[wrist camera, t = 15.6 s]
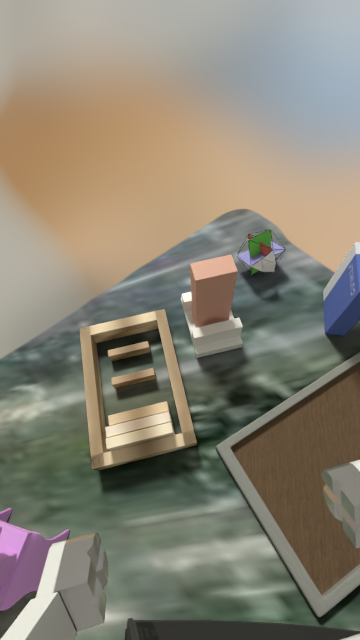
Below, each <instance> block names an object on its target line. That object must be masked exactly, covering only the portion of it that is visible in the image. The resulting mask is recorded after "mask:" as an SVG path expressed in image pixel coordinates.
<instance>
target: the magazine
mask: <svg viewBox="0 0 360 640" xmlns="http://www.w3.org/2000/svg"><path fill="white" fill-rule="evenodd" d="M357 634H360V631H353V630H344V629H335V628H327V627H317V626H306V625H294V624H281V623H263V622H243V621H207V620H133V618H131V619H128V622H127V629H126V630H125V640H341V639H344V638H347V637H350V636H354V635H357Z"/></svg>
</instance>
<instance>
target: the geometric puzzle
mask: <svg viewBox="0 0 360 640" xmlns="http://www.w3.org/2000/svg"><path fill="white" fill-rule="evenodd" d="M260 232H261V231H260ZM256 233H257V232H256ZM251 234H252V233H251ZM274 235H275V234H274ZM252 236H253V235H252ZM252 236H250V235H249V234H248V243H249V250H248V251H246V252H244V253H242V254H240V255H238V254H237V256H236V257H238V259H239V258H240V259H241V260H242V261H244V262H245V263H247V264H248V265H249V266H250V267H251V275H252V274H254V273H256V272H258V271H261V272H268V273H269V272H275V271H274V270H275V265H276V260H277V259H276V260H275V254H277V253H279V252H281V251H283V250H284V251H285V250H286V249H285V247H284V248H283V247H281V246H280V245H278V244H276V243H275V242H273V241H271V239H272V235H271V229H269V230H268V231H266V230H265V232H263V233H261V234H259V235H257V236H255V237H252ZM277 239H278V238H277ZM246 243H247V242H246ZM242 245H243V244H242ZM241 247H242V246H241ZM243 247H244V246H243ZM240 249H241V248H240ZM239 251H241V250H239ZM284 251H283V252H284ZM283 252H282V253H283ZM238 253H239V252H238ZM281 258H282V257H281ZM240 259H239V260H240ZM280 260H281V259H280ZM243 265H244V264H243ZM248 271H249V270H248ZM259 274H260V273H259Z"/></svg>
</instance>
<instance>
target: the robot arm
mask: <svg viewBox="0 0 360 640" xmlns="http://www.w3.org/2000/svg"><path fill="white" fill-rule="evenodd" d="M322 479H323V480H324V482H325V483H326V484H325V486H324V488H323V492H324V498H325V501H326V503H327V506H328V508H329V509H330V511H331V513H332V514H333V516H334V517H335V518H336V519H338V520H340V521H342V522H343V530H344V532H345V533H346V535H347V536H348V538H349V539H350V540H351V542H352V543H353V545H354V546H355V548H360V460H357V461H353V462H350V463H346V464H342V465H339V466H335V467H332V468H328V469H325V470H323V472H322ZM100 543H101V539H100V537H99V534H98V533H93V534H89V535H85V536H81V537H77V538H73V539H69V540H65V541H61V542H57V543H53V544H52V545H51V547H50V549H49V552H48V555H47V559H46V562H45V566H44V569H43V573H42V577H41V580H40V584H39V587H38V591H37V594H36V598H34V599H31V600H30V601H29V603H28V604H27V605H26V607H25V608H24V609H23V611H22V612H21V613H20V614H19V616H18V617H17V618H16V620H15V621H14V622H13V624H12V625H11V626H10V628H9V629H8V630H7V632H6V633H5V634H4V636H3V637H2V638H1V640H74V639H75V637H76V635H77V631H81V630H84V629H87V628H90V627H93V626H96V625H99V624H102V623H104V619H105V608H106V596H105V593H104V591H103V590H104V588H105V586H106V585H107V583H108V561H107V556H106V552H105V550H104V549H103V548H101V547H100ZM341 640H360V634H357V635H354V636H350V637H347V638H344V639H341Z"/></svg>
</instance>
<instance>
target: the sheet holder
mask: <svg viewBox="0 0 360 640" xmlns="http://www.w3.org/2000/svg"><path fill="white" fill-rule="evenodd" d="M181 303H182V307H183V310H184V314H185V318H186V321H187V325H188V328H189V332H190V336H191V339H192V343H193V347H194V350H195V354H196V358H199V357H203V356H207V355H211V354H216V353H220V352H224V351H228V350H232V349H236V348H241V347H242V345H243V342H242V339H241V337H240V335H241V331H242V327H243V326H242V323H241V321H240V318H235V319H234V317H233V314H232V311H230V316H229V320H227V321H223V322H218V323H214V324H210V325H206V326H201V327H197V328H196V327H195V323H194V320H193V317H192V296H191V292H188V293H184V294H182V297H181Z"/></svg>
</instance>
